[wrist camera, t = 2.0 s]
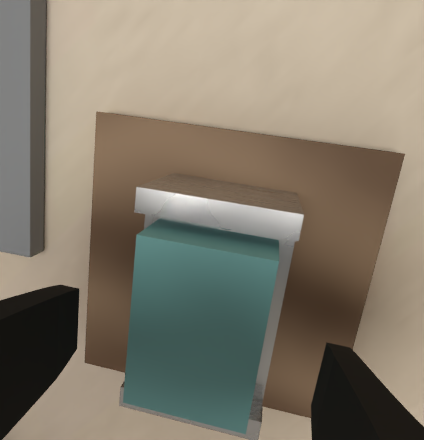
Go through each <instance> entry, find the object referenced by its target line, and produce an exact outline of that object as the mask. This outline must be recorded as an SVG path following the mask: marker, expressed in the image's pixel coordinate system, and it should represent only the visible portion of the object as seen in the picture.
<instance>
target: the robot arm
mask: <svg viewBox="0 0 424 440" xmlns="http://www.w3.org/2000/svg"><path fill="white" fill-rule="evenodd" d="M78 308H79V289H78V288H73V287H68V286H64V285H57V286H51V287H47V288H43V289H39V290H35V291H32V292H28V293H25V294H21V295H18V296H14V297H11V298H7V299H4V300H0V440H2V439H3V438H4V437H5V436H6V435H7V434H8V433H9V431H10V430H11V429H12V428H13V427H14V426H15V425H16V424H17V422H18V421H19V420H20V419H21V418H22V417H23V416H24V415H25V414H26V412H27V411H28V410H29V409H30V408H31V407H32V406H33V405H34V404H35V402H36V401H37V400H38V399H39V398H40V397H41V396H42V395H43V393H44V392H45V391H46V390H47V389H48V388H49V387H50V386H51V384H52V383H53V382H54V381H55V380H56V379H57V377H58V376H59V374H60V373H61V372H62V370H63V369H64V367H65V366H66V365H67V363H68V361H69V360H70V358H71V357H72V355H73V354H74V352H75V351H76V349H77V334H78ZM311 427H312V440H424V427H423V426H422V425H421V424H420V423H419V422H418V421H417V420H416V419H415V418H414V417H413V416H412V415H411V414H410V413H409V412H408V411H407V410H406V409H405V407H404V406H403V405H402V404H401V403H400V402H399V401H398V400H397V399H396V398H395V397H394V396H393V395H392V393H391V392H390V391H389V390H388V389H387V388H386V387H385V386H384V385H383V384H382V382H381V381H380V380H379V379H378V378H377V377H376V376H375V374H374V373H373V372H372V371H371V370H370V369H369V368H368V367H367V365H366V364H365V363H364V362H363V361H362V360H361V359H360V357H359V356H358V355H357V354H356V353H355V352H354V351H353V350H352V349H351V348H350V347H346V346H341V345H337V344H332V343H327V342H326V346H325V350H324V354H323V358H322V363H321V367H320V371H319V375H318V379H317V383H316V387H315V391H314V395H313V399H312V403H311Z"/></svg>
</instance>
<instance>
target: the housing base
mask: <svg viewBox="0 0 424 440" xmlns="http://www.w3.org/2000/svg"><path fill="white" fill-rule="evenodd" d="M134 212H135V213H141V214H145V223H144V229H145V228H147V227H148V226H150V225H151V224H152V223H154V222H155V221H157V220H158V219H164V220H169V221H175V222H181V223H186V224H192V225H197V226H203V227H209V228H214V229H220V230H225V231H231V232H237V233H242V234H248V235H254V236H259V237H265V238H270V239H276V240H279V265H278V270H277V275H276V281H275V286H274V291H273V296H272V301H271V306H270V312H269V317H268V322H267V327H266V332H265V337H264V343H263V348H262V353H261V358H260V363H259V368H258V374H257V379H256V384H255V389H254V394H253V399H252V405H251V410H250V415H249V420H248V425H247V431H246V434H242V433H239V432H235V431H231V430H227V429H223V428H219V427H215V426H211V425H208V424H204V423H200V422H196V421H192V420H188V419H184V418H180V417H177V416H173V415H169V414H165V413H161V412H157V411H153V410H149V409H145V408H142V407H138V406H134V405H130V404H126V403H123V395H124V382H125V381H124V382H123V384H122V386H121V389H120V402H119V406H123V407H126V408H130V409H134V410H138V411H142V412H146V413H150V414H153V415H157V416H161V417H165V418H169V419H173V420H177V421H180V422H184V423H188V424H192V425H196V426H200V427H203V428H207V429H211V430H215V431H219V432H223V433H227V434H230V435H234V436H238V437H242V438H246V439H250V440H258V437H259V432H260V427H261V422H262V404H263V397H264V392H265V387H266V382H267V377H268V372H269V367H270V362H271V357H272V352H273V347H274V343H275V338H276V333H277V328H278V323H279V318H280V313H281V308H282V303H283V298H284V293H285V288H286V283H287V278H288V273H289V268H290V264H291V259H292V254H293V249H294V244H295V241H299V237H300V232H301V228H302V223H303V218H304V213H303V210H302V207H301V204H300V201H299V198H298V195H297V193H296V192H290V191H283V190H277V189H271V188H264V187H258V186H252V185H245V184H239V183H233V182H226V181H220V180H214V179H207V178H201V177H195V176H189V175H182V174H176V173H173V174H170V175H167V176H164V177H162V178H159V179H156V180H154V181H151V182H148V183H145V184H143V185H140V186H137V187H136V198H135V211H134Z"/></svg>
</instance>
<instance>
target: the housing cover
mask: <svg viewBox="0 0 424 440" xmlns="http://www.w3.org/2000/svg"><path fill="white" fill-rule="evenodd" d="M278 265H279V240H276V239H270V238H265V237H259V236H254V235H248V234H242V233H237V232H231V231H225V230H220V229H214V228H209V227H203V226H197V225H192V224H186V223H181V222H175V221H169V220H164V219H158V220H157V221H155V222H154V223H152V224H151V225H150V226H148V227H147V228H145V229H144V230H143V231H141V232H140V233H138V234H137V235H136V247H135V260H134V272H133V284H132V296H131V309H130V321H129V333H128V346H127V358H126V370H125V382H124V395H123V403H126V404H130V405H134V406H138V407H142V408H145V409H149V410H153V411H157V412H161V413H165V414H169V415H173V416H177V417H180V418H184V419H188V420H192V421H196V422H200V423H204V424H208V425H211V426H215V427H219V428H223V429H227V430H231V431H235V432H239V433H242V434H246V431H247V425H248V420H249V415H250V410H251V405H252V399H253V394H254V389H255V384H256V379H257V374H258V368H259V363H260V358H261V353H262V348H263V343H264V337H265V332H266V327H267V322H268V317H269V312H270V306H271V301H272V296H273V291H274V286H275V281H276V275H277V270H278Z"/></svg>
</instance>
